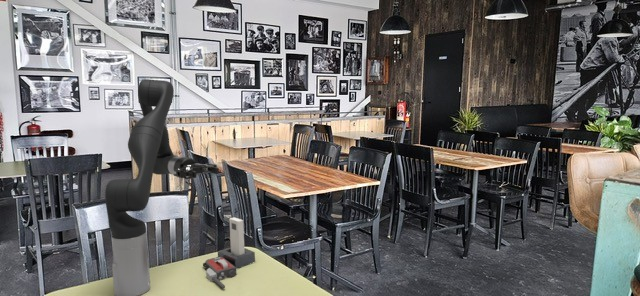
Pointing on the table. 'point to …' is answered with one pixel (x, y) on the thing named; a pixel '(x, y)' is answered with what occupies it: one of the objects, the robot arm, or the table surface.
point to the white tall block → (237, 236)
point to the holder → (237, 257)
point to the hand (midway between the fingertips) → (206, 172)
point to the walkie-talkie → (219, 269)
